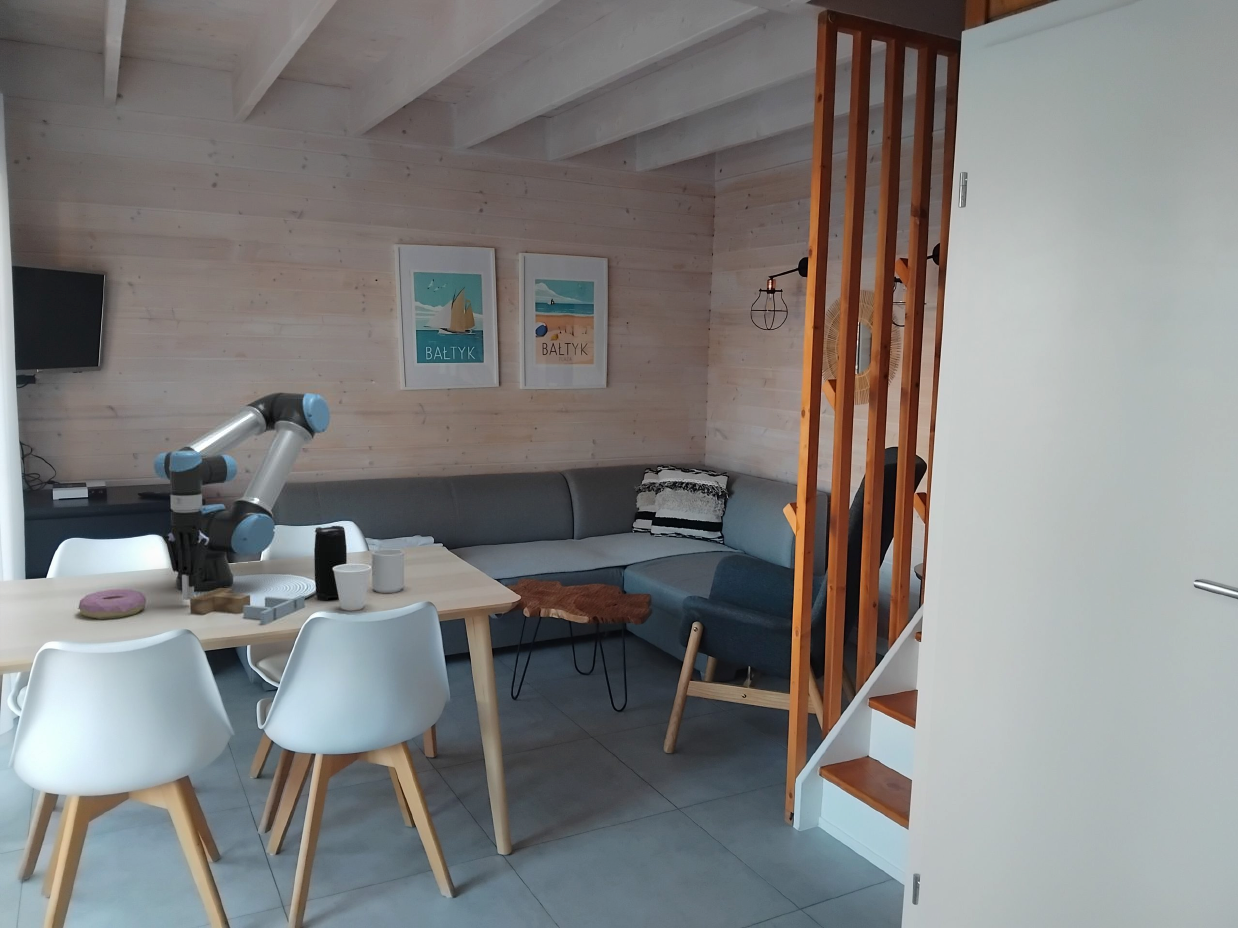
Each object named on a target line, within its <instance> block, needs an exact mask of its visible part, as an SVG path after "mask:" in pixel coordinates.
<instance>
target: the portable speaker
mask: <svg viewBox="0 0 1238 928" xmlns="http://www.w3.org/2000/svg"><path fill="white" fill-rule="evenodd" d="M314 533H315V534H314V535H315V536H314V549H313V550H314V551H313V552H314V559H313V560H314V583H315V586H314V587H315V594H316V599H317V600H319V601H327V600H328V599H329V598H338V600H339V597H338V591H337V585H336V580H335V575H334V571H333V567H335V566H338V565H343V564H348V563H347V561H348V560H347V559H348V558H347V556H348V554H347V553H348V552H347V539H346V531H345V527H344V526H341V525H331V526H328V527H322V526H321V527H320V526H319V527H316V528H315V530H314Z"/></svg>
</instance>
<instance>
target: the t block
mask: <svg viewBox="0 0 1238 928" xmlns="http://www.w3.org/2000/svg"><path fill="white" fill-rule="evenodd" d="M189 602H190V603H189V605H190V607H189V609H190V610H189V611H190V613H189V614H191V615H200V616H205V615H207V614H208V615H209V614H210V613H214V612H218V613H219V612H221V613H228V614H229V613H230V614H231V613H232V614H237V615H238V614H240V615H241V614H243V606H245V605H250V606H251V595H250V594H242V593H234V589H233V588H227V587H224V588H218V589H214V590H209V591H208V592H205V593H202V594H199V595H196V596H194V597H193V598H190V599H189Z"/></svg>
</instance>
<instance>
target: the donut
mask: <svg viewBox="0 0 1238 928" xmlns="http://www.w3.org/2000/svg"><path fill="white" fill-rule="evenodd" d="M146 602H147V599H146V597H145V595H144V594H143V593H142V592H141V591H138V590H135V589H124V588H123V589H122V588H121V589H119V588H118V589H107V590H100V591H99V590H98V591H96V592H93V593H90V594H86V595H85V596H84V597H83V598H81V599H80V600H79V603H78V607H77V609H78V610H79V611H80V613H81V614H82V615H83V616H84V617H86V618H91V619H99V620H108V619H119V618H124V617H129V616H134V615H137V614H138V613H139V612H140V611H141V610H143V609H144V608H146Z"/></svg>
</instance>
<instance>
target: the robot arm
mask: <svg viewBox="0 0 1238 928" xmlns="http://www.w3.org/2000/svg"><path fill="white" fill-rule="evenodd" d="M330 414H331V413H330V407H329V404H328V403H327V401H326V399H325V398H324V397H323V396H322V395H319V394H314V393H310V392H307V393H296V392H294V393H293V392H273V393H270V394H268V395H264V396H262V397H260V398H258V399H255V400H253V401H252V402H250V403H248V404H247V405H245V406H243V407H242V408H241V409H239V412H238V414H237V415H235V416H233V417H232V418H231V417H230V419H228V420H226V421H225V422H223V423H221V424H220V425H219V426H217V427H215V428H213V429H212V430H210V431H208V432H207V433H205V434H203V435H202V436H200V437H198V438H197V439H195V440H194V441H192V442H190V443H188V444H186V445H185V446H184V447H182V448H180V449H178V450H176V451H173V452H172V451H169V452H168V451H167V452H161V453H160V454H159V455H157V456H156V457H155V459H154V463H153V469H154V472H155V475H156V476H157V477H158V478H160V479H163V480H169V486H170V491H169V492H170V509H171V510H172V511H171V512H170V525H172V528H171V532H170V533H169V534H165V535H164V536H163V541H164V542H165V545H166V547H167V551H168V556H169V560H170V564H171V569H172V571H173V572H176V573H177V576H176V579H175V580H176V581H175V583H176V586H175V587H176V588H177V589H179V590H182V592H181V593H182V595H181V596H182V600H190V598H193V597H195V591H194V590H203V591H213V589H214V590H216V589H218V588H223V587H224V588H227V587H226V586H228V587H229V585H230V586H232V585H233V584H234V575H233V573H232V570H231V567H230V563H229V561H228V558H227V553H229V554H230V553H231V554H236V555H237V554H238V555H241V556H242V555H243V556H247V555H250V556H251V555H252V556H253V555H254V556H255V555H257V554H260V553H263V552H264V551H266V550H267V549H268V548H269V546H270V545H271V544H272V542H273V539H274V538H275V537H274V536H275V531H274V530H275V529H276V526H275V522H274V520H273V519H274V514H273V512H272V509H273V507H274V505H275V504H276V502H277V499H278V497H279V495H280V494H281V492H282V489H283V487H285V486H284V485H285V483H286V482H287V480H288V478H289V476H290V474H291V472H292V469H293V467H294V465H295V463H296V461H297V459H298V458H299V455H300V453H301V452H302V449H303V448H304V446H305V445H307V444H311V443H312V441H313V439H314V437H315V435H316V434H321V433H324V432H325V431H326V430H328V428H329V425H330V420H331V415H330ZM271 431H276V433H275V434H274V436H273V439H272V441H271V443H270V445H269V446H268V448H267V450H266V452H265V453H264V456H263V458H262V459H261V461H260V463H259V465H258V467H257V469H256V471H255V473H254V474H253V477H252V479H251V481H250V483H249V484H248V487H247V488H246V490H245V492H244V494H243V496H242V497H241V498H238V499H235V500H234V501H233V503H232V505H231V507H230V509H229V510H227V509H226V506H225V505H224V504H222V503H218V504H215V503H214V504H207V505H206V504H205V505H203V486H207V485H216V484H224V483H228V482H230V481H232V480H233V479H235V478H236V476H237V473H238V465H237V462H236V460H235V458H233V456H231V455H228V454H226V453H228V452H229V451H231V450H232V449H234V448H236V447H238V446H239V445H241V444H242V443H243V442H245V441H247V440H248V439H250V438H251V437H253V436H261V435H262V434H264V433H266V432H271Z"/></svg>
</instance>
